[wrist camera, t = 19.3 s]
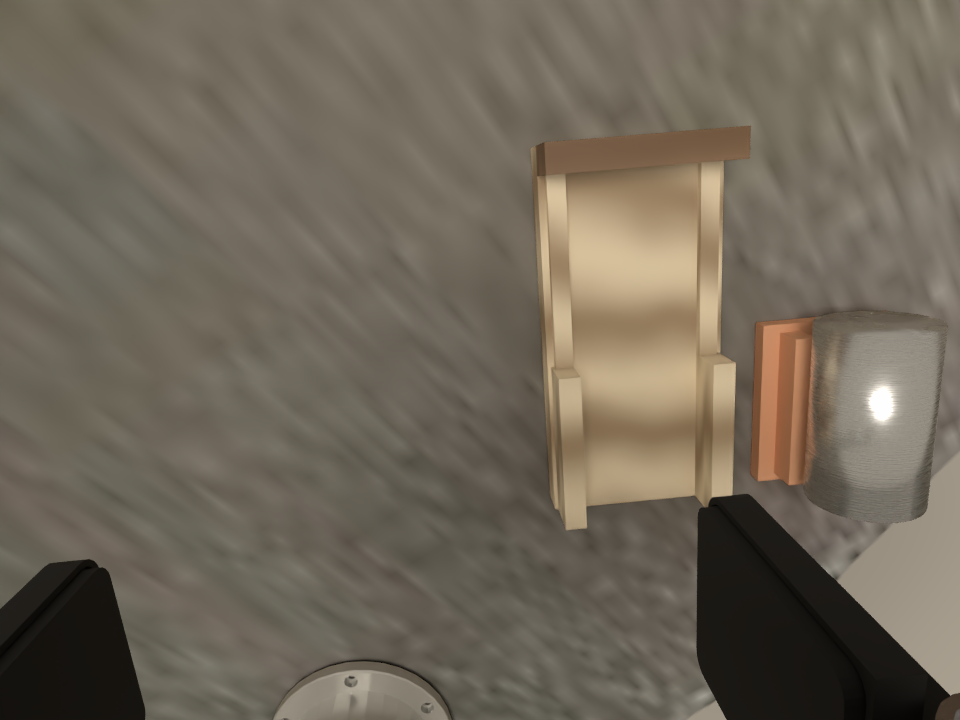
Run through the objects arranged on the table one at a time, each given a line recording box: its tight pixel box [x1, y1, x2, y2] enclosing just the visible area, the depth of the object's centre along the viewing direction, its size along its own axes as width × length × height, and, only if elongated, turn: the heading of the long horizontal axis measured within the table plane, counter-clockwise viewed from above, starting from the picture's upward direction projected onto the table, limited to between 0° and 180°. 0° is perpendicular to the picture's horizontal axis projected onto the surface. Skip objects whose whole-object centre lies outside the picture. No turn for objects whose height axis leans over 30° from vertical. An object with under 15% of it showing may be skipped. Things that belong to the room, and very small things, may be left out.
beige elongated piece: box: [531, 126, 751, 530], centre depth 36 cm, size 21×10×5 cm, turn 5°
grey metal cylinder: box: [804, 311, 948, 523], centre depth 35 cm, size 10×6×6 cm, turn 5°
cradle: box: [751, 317, 817, 485], centre depth 39 cm, size 10×8×3 cm
